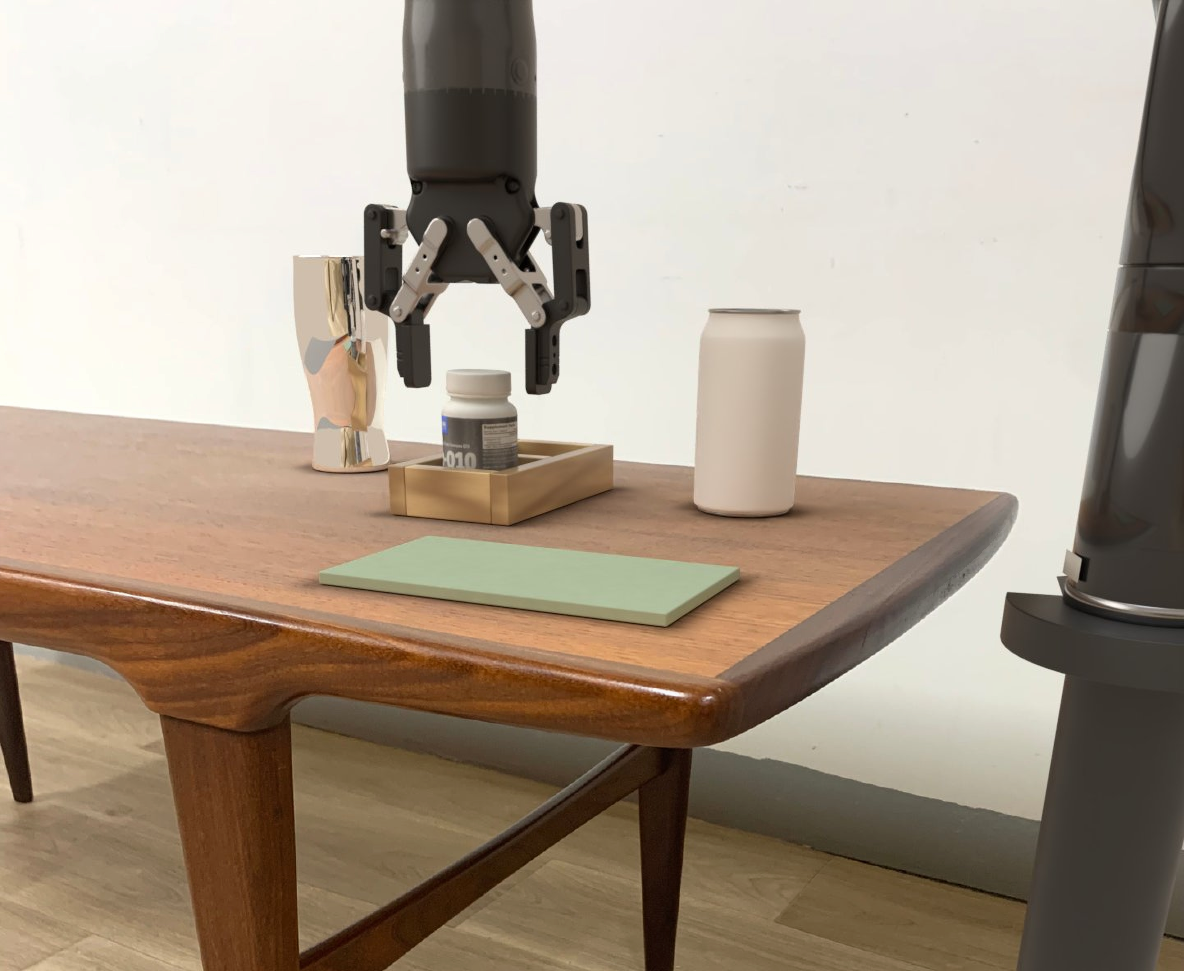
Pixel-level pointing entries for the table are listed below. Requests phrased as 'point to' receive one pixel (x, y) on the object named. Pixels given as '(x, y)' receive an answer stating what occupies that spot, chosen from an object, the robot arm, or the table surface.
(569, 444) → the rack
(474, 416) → the pill bottle
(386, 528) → the table surface
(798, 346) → the can
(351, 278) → the beer glass
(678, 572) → the mat
